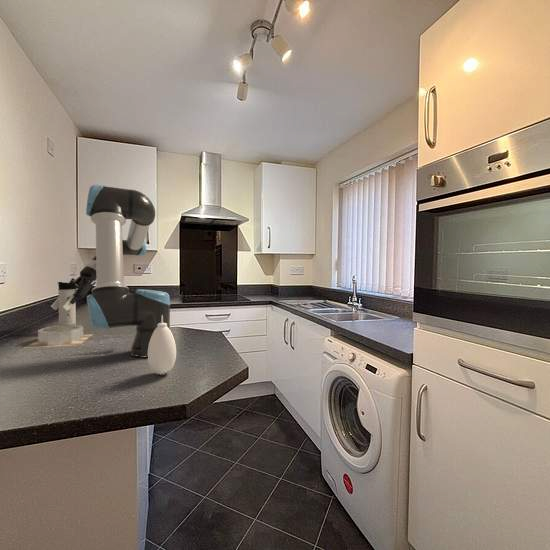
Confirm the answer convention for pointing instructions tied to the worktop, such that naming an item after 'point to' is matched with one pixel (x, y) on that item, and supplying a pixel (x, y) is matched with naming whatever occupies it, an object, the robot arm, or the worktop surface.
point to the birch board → (58, 345)
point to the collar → (60, 334)
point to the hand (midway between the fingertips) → (59, 308)
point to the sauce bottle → (161, 349)
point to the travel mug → (64, 295)
